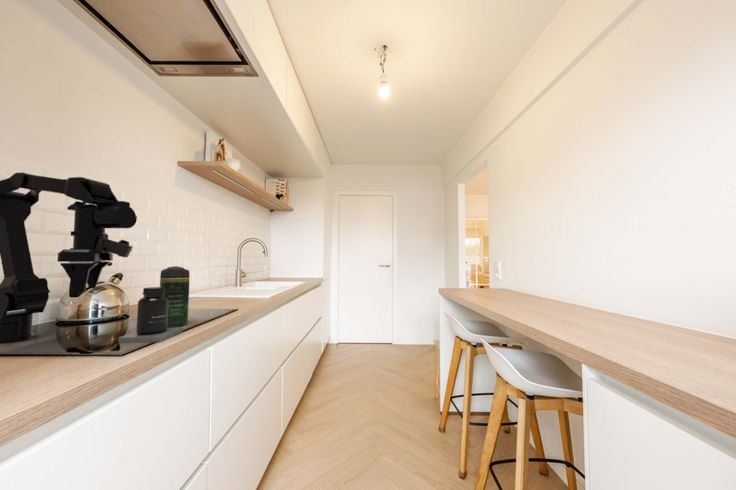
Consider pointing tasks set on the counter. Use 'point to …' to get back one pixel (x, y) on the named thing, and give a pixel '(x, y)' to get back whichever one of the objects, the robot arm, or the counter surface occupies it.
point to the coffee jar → (176, 294)
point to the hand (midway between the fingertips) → (87, 290)
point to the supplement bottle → (152, 311)
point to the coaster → (150, 336)
